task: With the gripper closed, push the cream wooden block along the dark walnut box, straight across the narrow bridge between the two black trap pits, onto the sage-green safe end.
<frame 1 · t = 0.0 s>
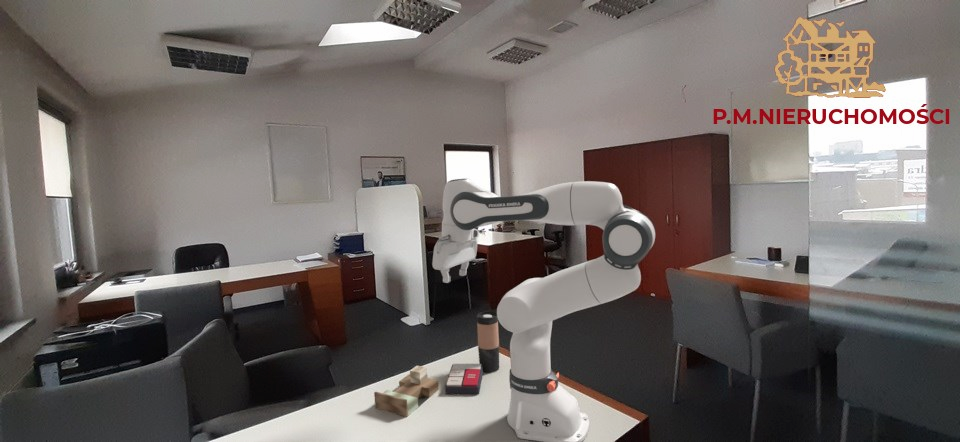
hand: (454, 278, 117), 39 cm above the table, tool pointing down, fingers open, 8 cm apart
trap box: (409, 397, 124), on the table
block: (419, 380, 129), point 3 cm above the table, touching trap box
red and grey box: (465, 384, 132), on the table
travel mug: (489, 368, 142), on the table
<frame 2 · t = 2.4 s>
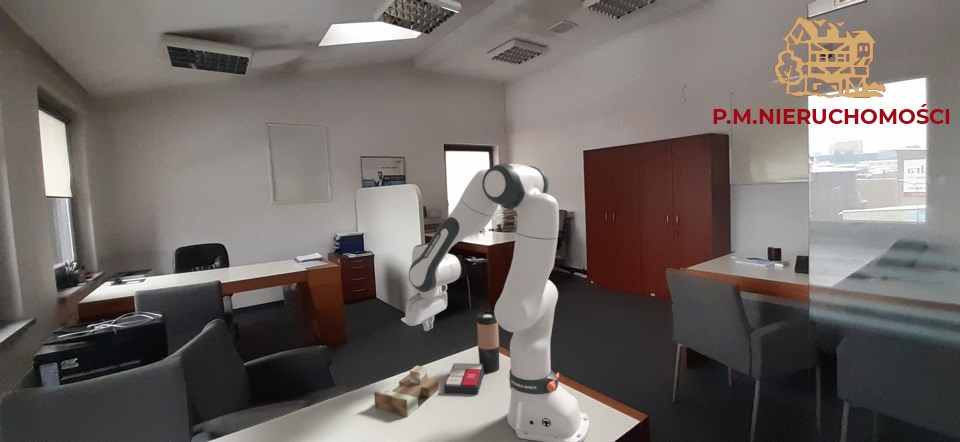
hand: (428, 329, 134), 18 cm above the table, tool pointing down, fingers closed
nothing on the table moved.
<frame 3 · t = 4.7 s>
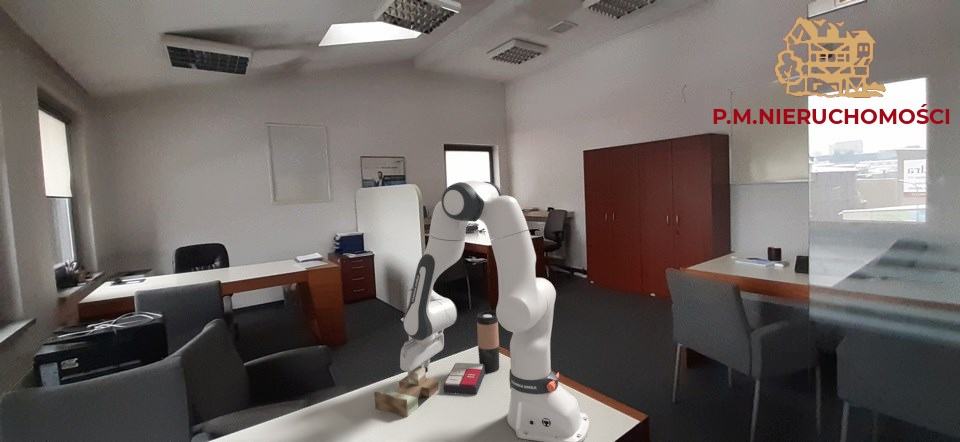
hand: (424, 372, 132), 4 cm above the table, tool pointing down, fingers closed
block: (417, 381, 129), point 3 cm above the table, touching gripper, trap box
everything else where it was.
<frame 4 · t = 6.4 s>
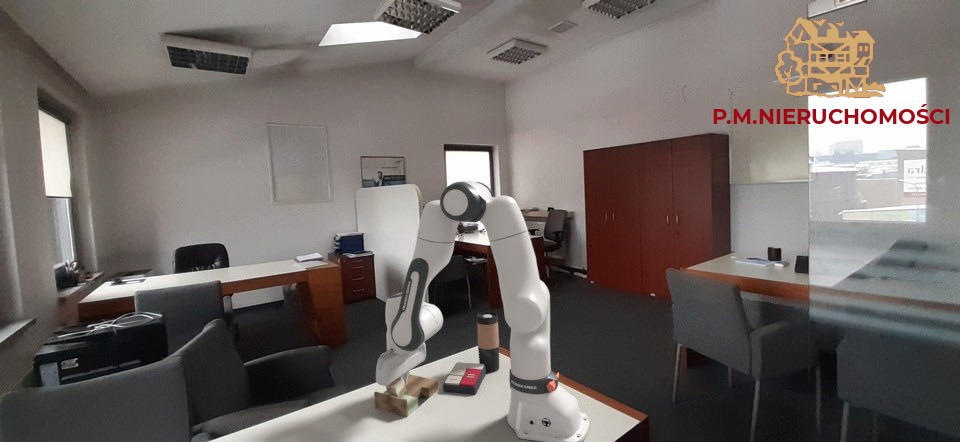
hand: (403, 385, 123), 5 cm above the table, tool pointing down, fingers closed
block: (397, 393, 121), point 3 cm above the table, tilted 14°, touching gripper, trap box
everything else where it was.
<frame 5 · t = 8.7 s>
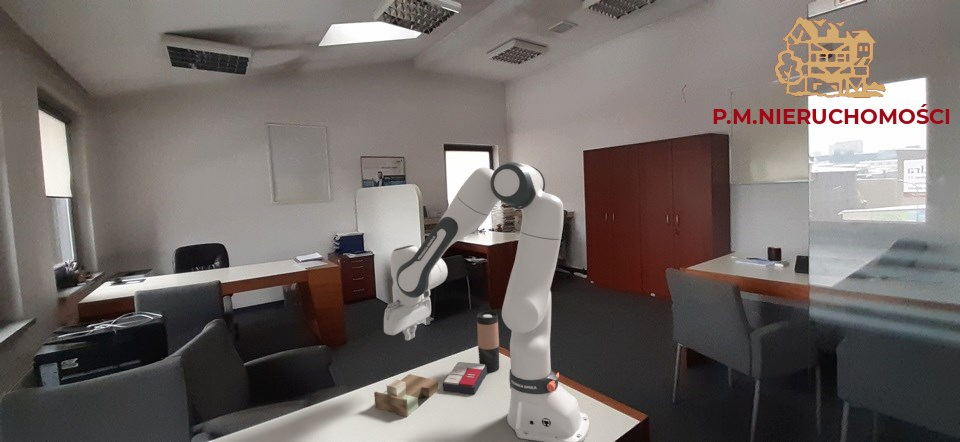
hand: (410, 338, 125), 19 cm above the table, tool pointing down, fingers closed
block: (396, 396, 120), point 3 cm above the table, touching trap box
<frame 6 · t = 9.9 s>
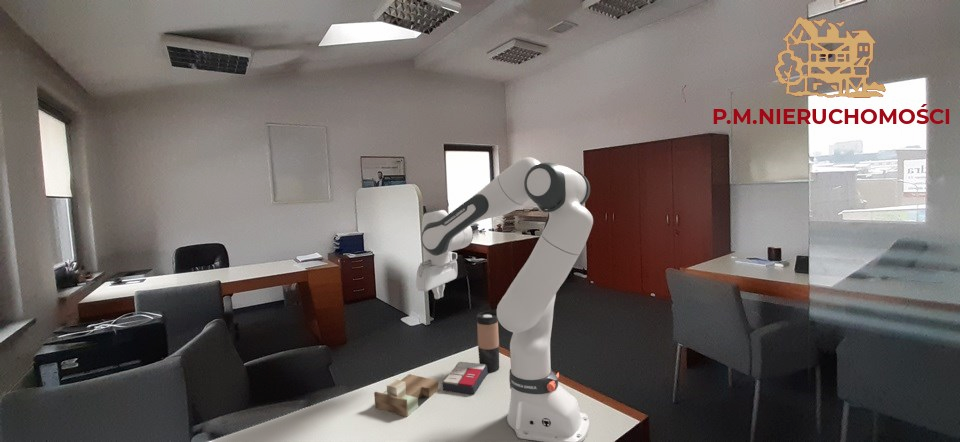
hand: (438, 297, 133), 29 cm above the table, tool pointing down, fingers closed
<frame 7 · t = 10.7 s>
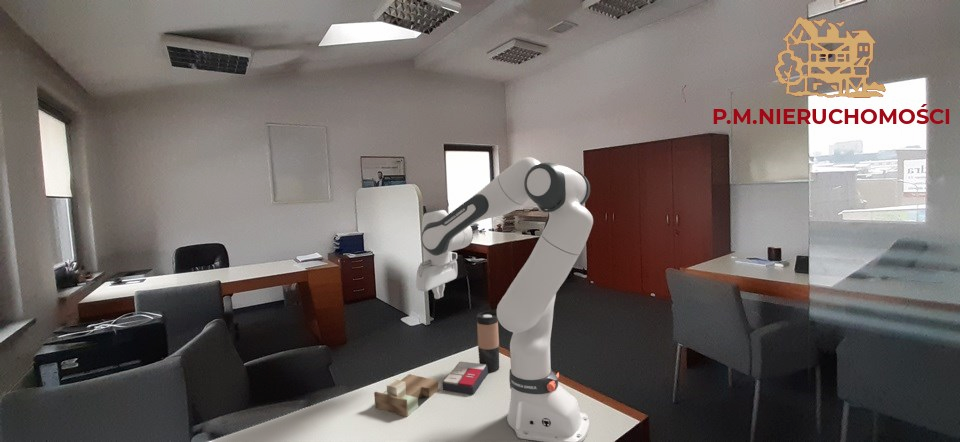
hand: (438, 297, 133), 29 cm above the table, tool pointing down, fingers closed
nothing on the table moved.
at the end: block 1.0 cm from the target spot on the trap box, point 3.0 cm above the trap box's base; block tilted 0° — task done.
